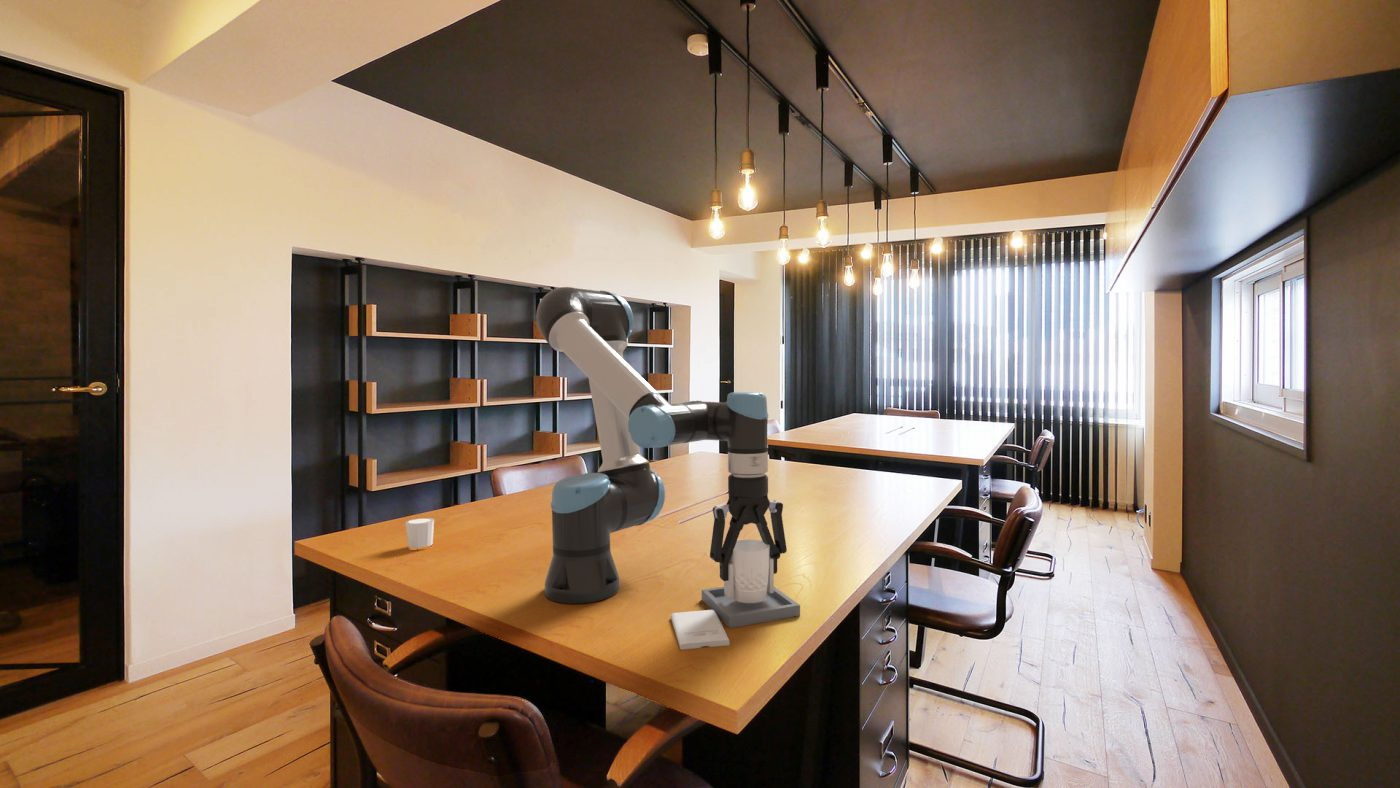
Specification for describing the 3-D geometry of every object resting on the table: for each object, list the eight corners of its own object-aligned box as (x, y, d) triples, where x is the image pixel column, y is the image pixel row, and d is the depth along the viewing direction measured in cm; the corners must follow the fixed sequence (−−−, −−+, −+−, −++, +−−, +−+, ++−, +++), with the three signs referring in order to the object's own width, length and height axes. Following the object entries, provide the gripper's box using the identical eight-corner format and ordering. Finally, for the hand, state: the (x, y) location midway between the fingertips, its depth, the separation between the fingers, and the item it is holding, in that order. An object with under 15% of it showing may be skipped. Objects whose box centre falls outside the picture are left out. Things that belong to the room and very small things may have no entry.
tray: (729, 627, 106) (729, 616, 106) (701, 599, 119) (701, 589, 119) (800, 615, 111) (800, 605, 111) (765, 590, 124) (765, 580, 124)
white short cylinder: (400, 550, 154) (399, 523, 154) (417, 543, 161) (416, 517, 160) (424, 551, 153) (423, 524, 153) (440, 544, 160) (439, 517, 159)
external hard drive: (714, 618, 112) (729, 648, 99) (670, 621, 110) (680, 653, 98) (714, 609, 111) (729, 638, 99) (670, 612, 110) (680, 643, 98)
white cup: (768, 606, 110) (767, 552, 110) (725, 603, 112) (724, 550, 111) (771, 590, 118) (771, 540, 117) (731, 588, 119) (731, 538, 119)
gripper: (704, 481, 107) (705, 608, 108) (805, 473, 114) (806, 592, 115) (690, 474, 114) (691, 594, 115) (786, 467, 121) (787, 580, 122)
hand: (749, 593), depth 115 cm, fingers closed on white cup, 8 cm apart
